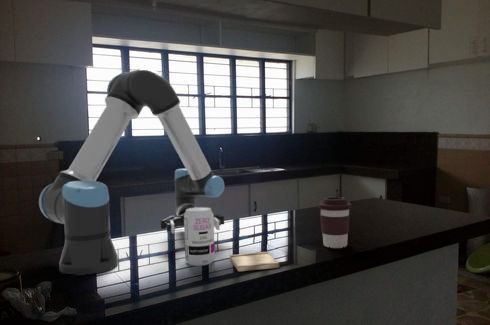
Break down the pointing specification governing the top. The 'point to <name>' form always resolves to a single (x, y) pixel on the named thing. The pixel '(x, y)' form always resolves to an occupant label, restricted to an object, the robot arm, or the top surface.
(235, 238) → the top surface
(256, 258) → the trivet
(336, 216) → the coffee cup
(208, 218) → the supplement can
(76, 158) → the robot arm
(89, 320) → the top surface
